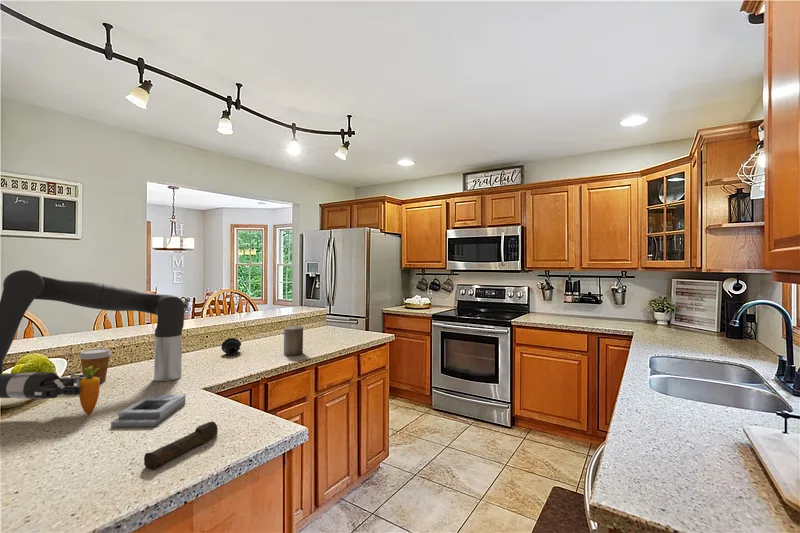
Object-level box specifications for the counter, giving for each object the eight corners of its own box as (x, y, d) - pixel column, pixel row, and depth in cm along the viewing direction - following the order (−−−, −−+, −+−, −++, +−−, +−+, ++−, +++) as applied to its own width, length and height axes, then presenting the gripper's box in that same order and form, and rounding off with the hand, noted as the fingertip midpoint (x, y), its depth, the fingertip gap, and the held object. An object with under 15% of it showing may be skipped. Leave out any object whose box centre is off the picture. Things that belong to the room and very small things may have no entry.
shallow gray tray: (149, 403, 122) (149, 394, 122) (185, 403, 123) (185, 394, 123) (110, 427, 104) (111, 417, 104) (153, 427, 105) (153, 417, 105)
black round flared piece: (219, 348, 180) (216, 330, 195) (228, 365, 185) (224, 347, 200) (238, 340, 184) (234, 323, 198) (246, 357, 189) (242, 339, 203)
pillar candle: (306, 353, 194) (307, 324, 194) (292, 356, 186) (292, 327, 186) (294, 350, 199) (294, 322, 199) (279, 354, 191) (279, 325, 191)
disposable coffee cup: (92, 387, 136) (93, 354, 136) (71, 384, 138) (72, 352, 138) (117, 379, 145) (117, 348, 145) (97, 377, 147) (97, 347, 147)
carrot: (86, 411, 115) (87, 363, 114) (103, 411, 115) (104, 363, 115) (73, 418, 110) (74, 368, 110) (91, 418, 110) (92, 368, 110)
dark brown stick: (153, 473, 83) (154, 452, 83) (142, 468, 85) (143, 448, 85) (224, 438, 101) (224, 421, 101) (213, 435, 102) (214, 418, 102)
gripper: (10, 380, 104) (72, 380, 105) (54, 366, 118) (107, 366, 119) (10, 407, 104) (71, 406, 105) (53, 389, 118) (107, 389, 120)
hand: (90, 385), depth 112 cm, fingers open, 8 cm apart
